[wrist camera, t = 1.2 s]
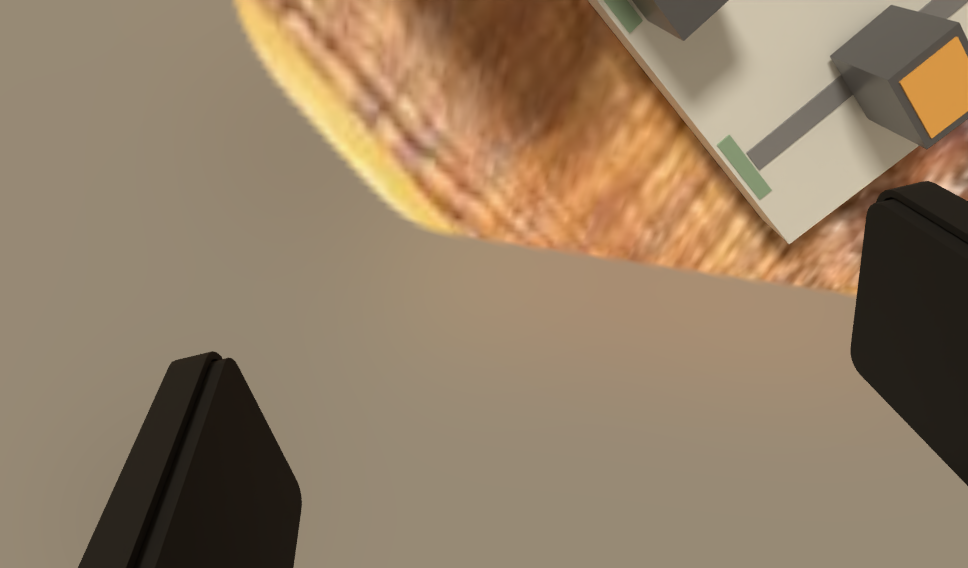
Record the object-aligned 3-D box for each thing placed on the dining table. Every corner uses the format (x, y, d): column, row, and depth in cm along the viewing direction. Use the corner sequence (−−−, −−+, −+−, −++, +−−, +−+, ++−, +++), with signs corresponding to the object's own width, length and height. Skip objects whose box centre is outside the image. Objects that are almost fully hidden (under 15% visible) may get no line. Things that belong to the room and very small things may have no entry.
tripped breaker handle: (891, 4, 28) (961, 23, 25) (927, 72, 30) (997, 98, 27) (829, 56, 29) (889, 81, 26) (867, 119, 31) (928, 150, 27)
